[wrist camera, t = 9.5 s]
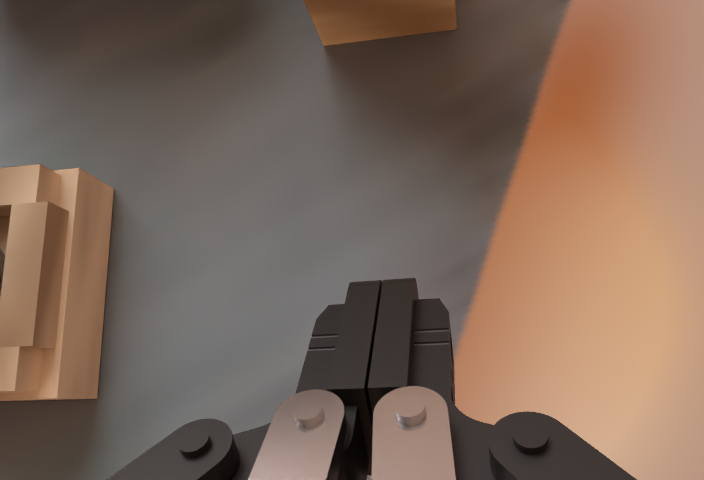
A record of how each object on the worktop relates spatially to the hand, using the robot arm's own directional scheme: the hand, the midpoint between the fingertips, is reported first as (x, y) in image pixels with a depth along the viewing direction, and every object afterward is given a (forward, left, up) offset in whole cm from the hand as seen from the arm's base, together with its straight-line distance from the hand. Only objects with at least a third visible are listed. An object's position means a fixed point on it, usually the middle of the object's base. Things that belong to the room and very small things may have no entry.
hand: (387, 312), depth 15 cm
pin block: (-13, +2, -4) cm, 14 cm away
